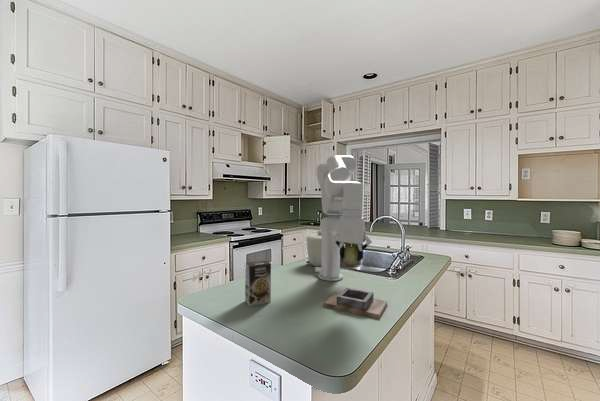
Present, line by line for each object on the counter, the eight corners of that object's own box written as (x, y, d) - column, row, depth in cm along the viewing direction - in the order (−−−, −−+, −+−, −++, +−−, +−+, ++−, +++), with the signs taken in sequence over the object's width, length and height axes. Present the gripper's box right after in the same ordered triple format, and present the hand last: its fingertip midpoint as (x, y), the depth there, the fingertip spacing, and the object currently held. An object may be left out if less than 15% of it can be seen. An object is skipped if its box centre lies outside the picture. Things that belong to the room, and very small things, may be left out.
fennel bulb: (360, 267, 112) (361, 237, 111) (350, 269, 109) (351, 238, 108) (350, 264, 117) (351, 234, 116) (341, 265, 114) (341, 236, 113)
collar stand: (323, 306, 114) (323, 295, 113) (335, 294, 126) (335, 284, 126) (379, 318, 103) (379, 306, 103) (387, 304, 116) (387, 293, 115)
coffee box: (249, 306, 113) (249, 266, 112) (244, 300, 118) (244, 262, 117) (271, 302, 117) (271, 263, 116) (265, 297, 122) (265, 259, 122)
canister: (300, 266, 169) (301, 231, 168) (310, 259, 186) (310, 227, 185) (330, 270, 163) (331, 233, 162) (337, 262, 180) (338, 228, 179)
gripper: (327, 213, 112) (327, 258, 114) (371, 216, 104) (370, 264, 105) (335, 211, 119) (334, 254, 120) (377, 214, 111) (375, 260, 112)
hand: (351, 258), depth 113 cm, fingers closed on fennel bulb, 6 cm apart
